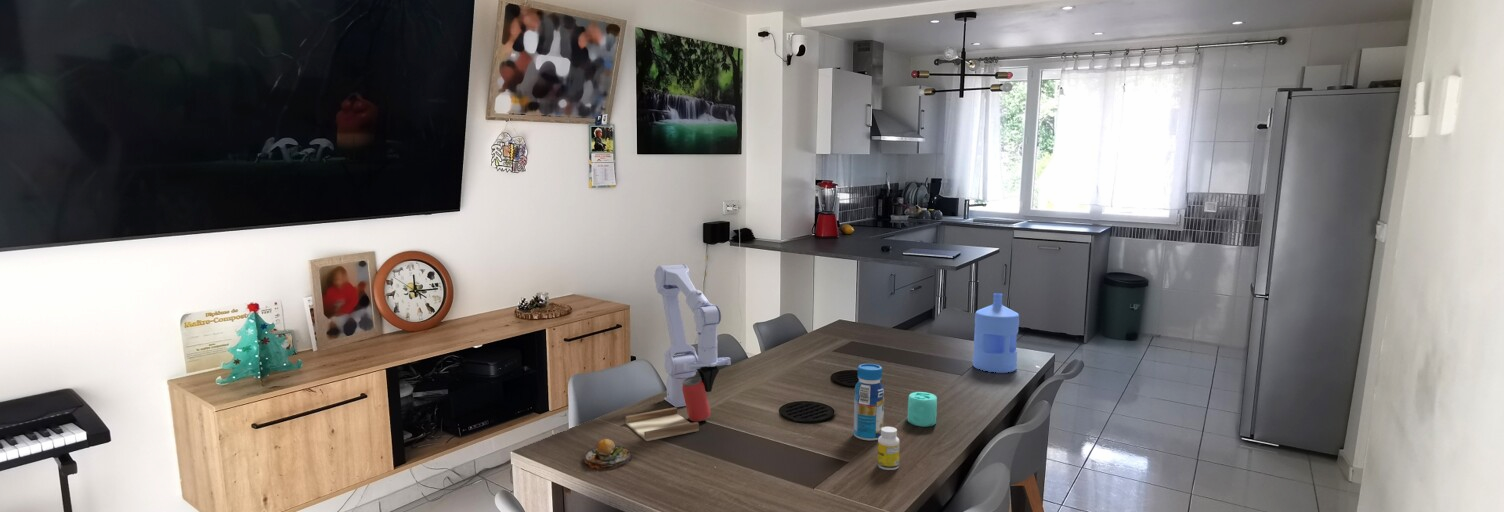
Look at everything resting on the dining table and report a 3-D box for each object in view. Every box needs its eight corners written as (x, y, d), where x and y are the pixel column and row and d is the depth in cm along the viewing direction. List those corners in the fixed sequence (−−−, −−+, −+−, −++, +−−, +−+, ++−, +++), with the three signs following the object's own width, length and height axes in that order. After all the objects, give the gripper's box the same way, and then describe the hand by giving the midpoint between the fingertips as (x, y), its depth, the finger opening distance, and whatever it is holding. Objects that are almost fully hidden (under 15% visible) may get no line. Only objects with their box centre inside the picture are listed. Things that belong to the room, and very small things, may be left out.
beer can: (708, 421, 219) (699, 384, 216) (686, 423, 220) (677, 386, 217) (713, 410, 225) (704, 374, 222) (692, 412, 227) (684, 376, 224)
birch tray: (625, 423, 219) (625, 416, 219) (675, 414, 228) (675, 407, 227) (646, 441, 206) (646, 433, 206) (698, 430, 214) (698, 423, 214)
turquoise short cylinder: (936, 418, 225) (937, 393, 224) (935, 428, 217) (936, 401, 216) (909, 416, 227) (909, 390, 226) (907, 425, 219) (908, 398, 218)
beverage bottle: (847, 432, 213) (849, 364, 210) (873, 429, 216) (875, 361, 213) (862, 443, 205) (864, 372, 202) (889, 439, 208) (891, 369, 205)
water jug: (964, 364, 285) (967, 291, 281) (999, 360, 289) (1003, 289, 286) (988, 375, 270) (992, 298, 266) (1025, 371, 274) (1029, 296, 271)
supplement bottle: (874, 462, 192) (875, 425, 191) (895, 461, 193) (896, 425, 191) (880, 471, 187) (881, 433, 186) (901, 470, 187) (902, 432, 186)
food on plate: (640, 458, 195) (640, 430, 194) (610, 474, 185) (609, 445, 184) (605, 448, 201) (605, 421, 200) (574, 463, 191) (573, 435, 190)
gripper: (691, 352, 214) (691, 398, 216) (735, 346, 222) (735, 390, 223) (680, 347, 220) (681, 391, 222) (724, 341, 228) (724, 384, 229)
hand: (707, 391), depth 223 cm, fingers closed
